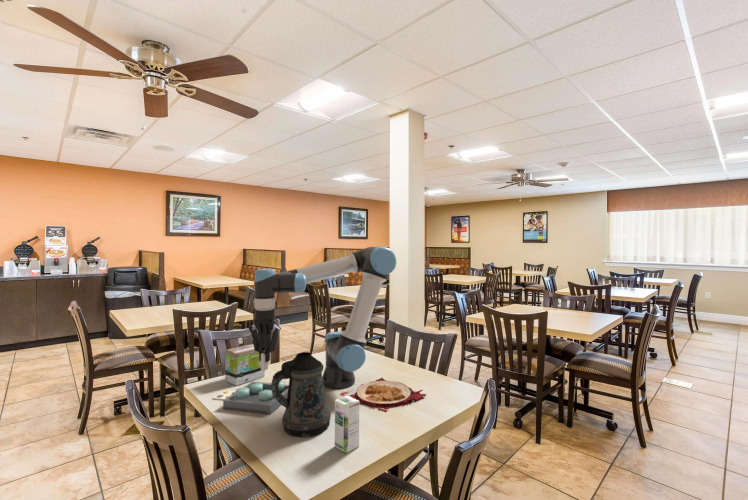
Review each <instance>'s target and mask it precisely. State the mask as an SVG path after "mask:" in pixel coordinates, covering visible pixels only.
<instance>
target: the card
mask: <svg viewBox="0 0 748 500" xmlns="http://www.w3.org/2000/svg"><path fill="white" fill-rule="evenodd" d="M235 392H236V390H228V389H226V390H223V391H222V392H220V393H218V394H217V395H215V396H213V397H212V400H217V401H218V400H219V401H223V400H225V399H226V398H228V397H229V396H231V395H232V394H234V393H235Z"/></svg>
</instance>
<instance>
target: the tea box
mask: <svg viewBox="0 0 748 500" xmlns="http://www.w3.org/2000/svg"><path fill="white" fill-rule="evenodd" d="M264 352H265V351H264ZM224 367H225V368H224V369H225V371H224V372H225V374H224V378H225V379H224V381H225V382H226V383H229V384H231V385H234V386H236V387H237V386H239V385H242V384H246V383H248V382H253V381H255V380H258V379H262V378H265V376H266V375H265V374H266V373H265V371H266V370H265V371H261V361H259V352H257V351H255V350H254V345H253V343H251V344H247V345H243V346H242V345H241V346H238V347H233V348H229V349H226V350H225V366H224Z"/></svg>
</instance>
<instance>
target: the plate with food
mask: <svg viewBox="0 0 748 500" xmlns="http://www.w3.org/2000/svg"><path fill="white" fill-rule="evenodd" d="M422 391H424V390H423V389H420V390H418V391H417V390H416V391H415V390H413V389H412V388H411V387H410V386H407V385H406V384H405V383H402V382H401V381H400V382H399V381H394V380H386V379H385V378H383V377H380V378H378V379H377V378H376V380H372V381H370V382H367V383H363V384H360V386H358V387H357V388H356V392H355V393H352V394H350V392H353V390H351V391H349V390H347V391H343V392H341V393H340V395H341V396H342V397H344V396H346V395H347V394H350V395H348V396H350V397H352V398H354V399H356V400H359V405H360V404H361V405H363V404H366V405H368V406H371V408H370V409H373V410H375V408H374V407H377V410H378V412H381V411H382V412H383V413H387V412H388V411H389V409H390V408H392V407H393V408H394V407H396V406H398V407H401V408H403V407H405V406H408V405H409V401H410V402H413V401H415V402H417V401H420V400H421V399H422V398H423V397H426V396H427V393H421V392H422Z"/></svg>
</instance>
